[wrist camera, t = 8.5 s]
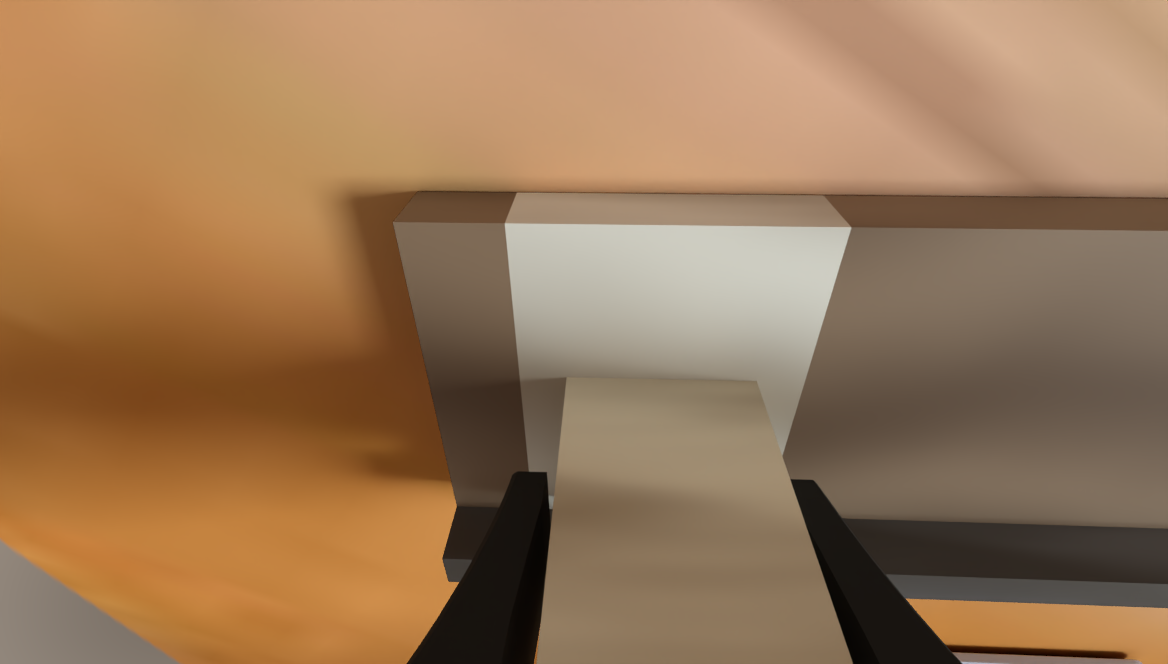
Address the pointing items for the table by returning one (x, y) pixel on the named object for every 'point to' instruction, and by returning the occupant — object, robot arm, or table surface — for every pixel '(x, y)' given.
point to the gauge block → (679, 533)
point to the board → (834, 362)
